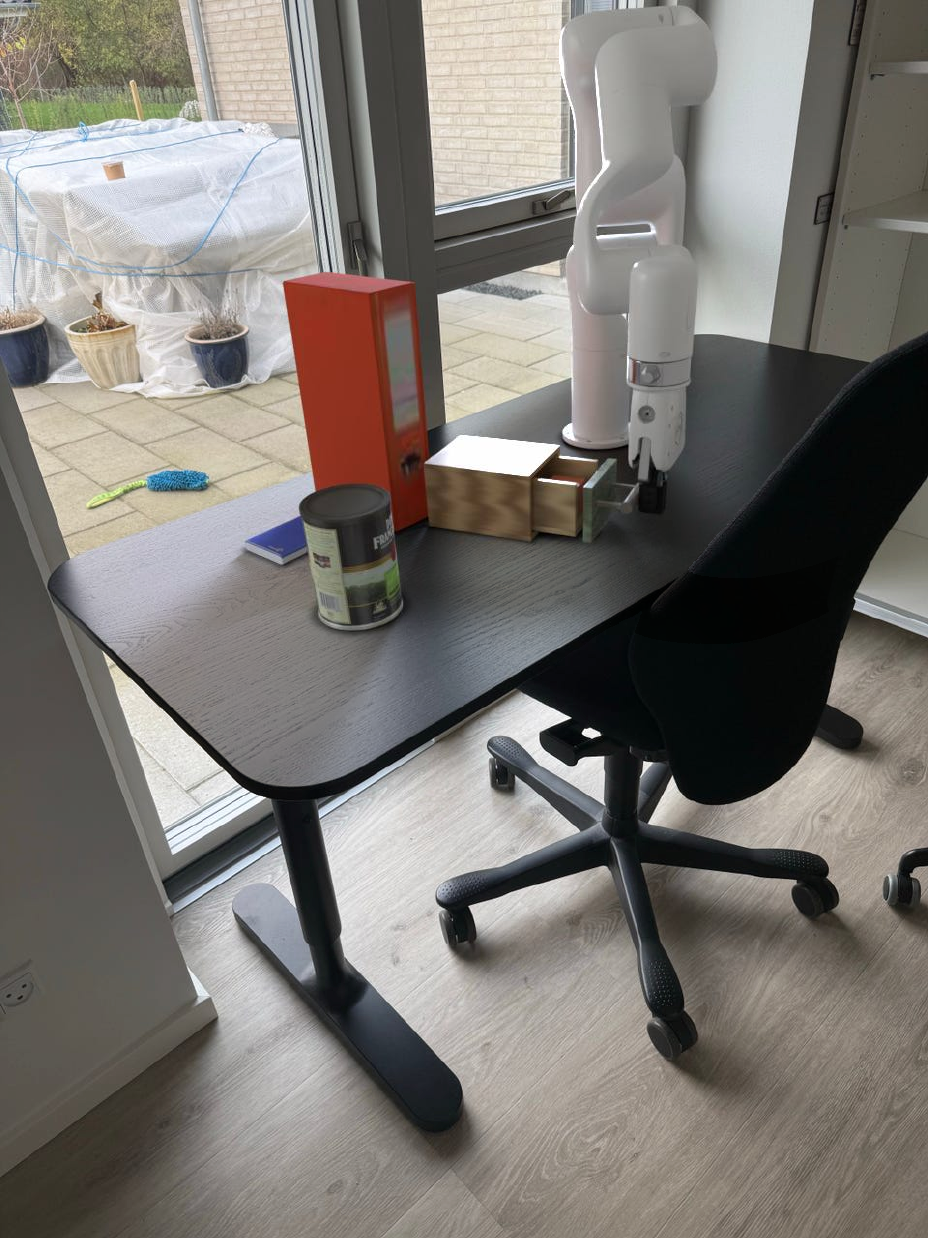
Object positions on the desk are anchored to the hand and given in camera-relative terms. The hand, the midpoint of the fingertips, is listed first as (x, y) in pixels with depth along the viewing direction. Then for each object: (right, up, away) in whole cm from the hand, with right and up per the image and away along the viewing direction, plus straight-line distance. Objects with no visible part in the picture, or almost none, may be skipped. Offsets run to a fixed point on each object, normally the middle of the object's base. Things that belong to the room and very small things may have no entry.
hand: (651, 510), depth 113 cm
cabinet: (-20, +1, +11) cm, 23 cm away
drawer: (-10, -1, +6) cm, 12 cm away
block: (-11, 0, +6) cm, 12 cm away
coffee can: (-37, -13, -8) cm, 40 cm away
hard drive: (-47, -3, +9) cm, 48 cm away
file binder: (-37, +2, +17) cm, 41 cm away
